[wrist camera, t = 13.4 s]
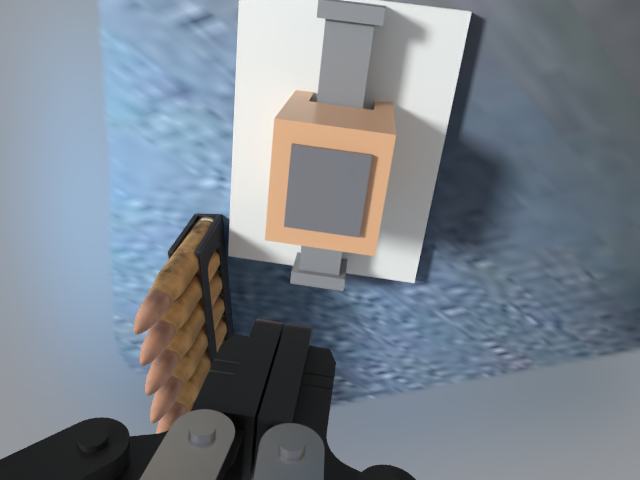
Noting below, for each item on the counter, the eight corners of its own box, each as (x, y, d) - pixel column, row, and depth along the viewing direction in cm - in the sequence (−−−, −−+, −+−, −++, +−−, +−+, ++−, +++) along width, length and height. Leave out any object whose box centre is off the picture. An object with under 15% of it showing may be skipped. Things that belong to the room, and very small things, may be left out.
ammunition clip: (235, 350, 40) (181, 487, 29) (210, 349, 40) (147, 485, 29) (222, 213, 36) (153, 315, 25) (194, 213, 36) (113, 314, 25)
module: (392, 102, 31) (396, 136, 24) (375, 203, 33) (374, 259, 27) (295, 89, 31) (272, 119, 24) (286, 191, 33) (263, 242, 27)
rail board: (468, 10, 29) (479, 14, 26) (413, 275, 36) (416, 304, 33) (243, -17, 30) (227, -17, 26) (231, 249, 37) (217, 275, 33)
